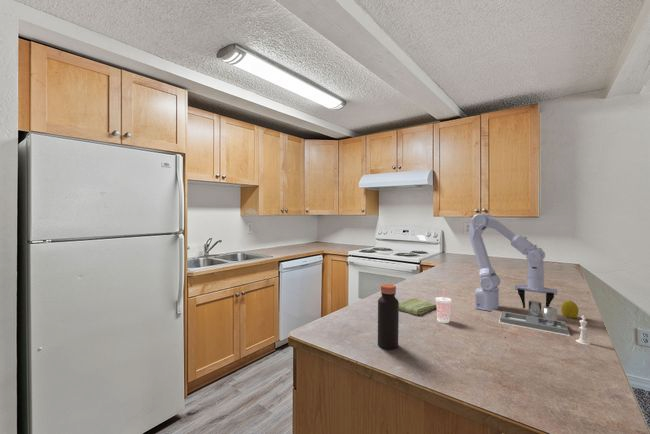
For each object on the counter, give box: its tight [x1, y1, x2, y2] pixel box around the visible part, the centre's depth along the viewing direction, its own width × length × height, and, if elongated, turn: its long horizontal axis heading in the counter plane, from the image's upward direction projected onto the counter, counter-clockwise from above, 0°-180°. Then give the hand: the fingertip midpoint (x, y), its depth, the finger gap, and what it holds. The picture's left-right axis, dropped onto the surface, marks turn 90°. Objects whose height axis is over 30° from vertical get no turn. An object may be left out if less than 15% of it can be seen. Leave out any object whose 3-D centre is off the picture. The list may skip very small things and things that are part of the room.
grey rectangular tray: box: [497, 310, 571, 337], centre depth 117 cm, size 22×13×2 cm, turn 56°
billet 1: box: [527, 299, 542, 318], centre depth 125 cm, size 4×4×7 cm
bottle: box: [377, 283, 400, 350], centre depth 100 cm, size 7×7×20 cm
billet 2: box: [542, 306, 558, 327], centre depth 114 cm, size 4×4×7 cm
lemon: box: [560, 299, 579, 319], centre depth 124 cm, size 6×6×8 cm
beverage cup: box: [435, 286, 452, 324], centre depth 122 cm, size 6×6×14 cm
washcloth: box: [399, 297, 437, 316], centre depth 138 cm, size 13×18×3 cm
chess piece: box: [575, 314, 591, 346], centre depth 101 cm, size 5×5×10 cm
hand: (535, 309), depth 125 cm, fingers open, 7 cm apart
